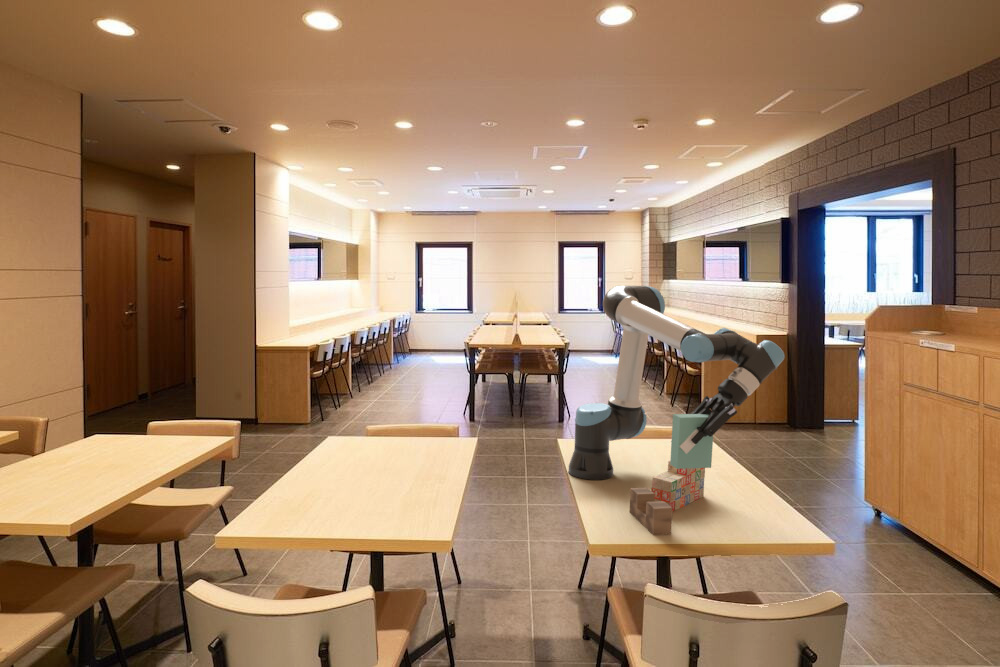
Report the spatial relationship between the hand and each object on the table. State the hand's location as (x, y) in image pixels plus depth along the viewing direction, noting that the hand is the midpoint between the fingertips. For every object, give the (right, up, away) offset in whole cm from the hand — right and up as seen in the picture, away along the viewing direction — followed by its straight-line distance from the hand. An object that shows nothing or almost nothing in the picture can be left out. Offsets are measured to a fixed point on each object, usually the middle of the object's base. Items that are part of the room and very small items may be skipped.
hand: (678, 447), depth 167 cm
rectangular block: (+4, -5, +1) cm, 6 cm away
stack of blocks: (+5, -20, +18) cm, 27 cm away
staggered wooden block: (-8, -21, +1) cm, 22 cm away
